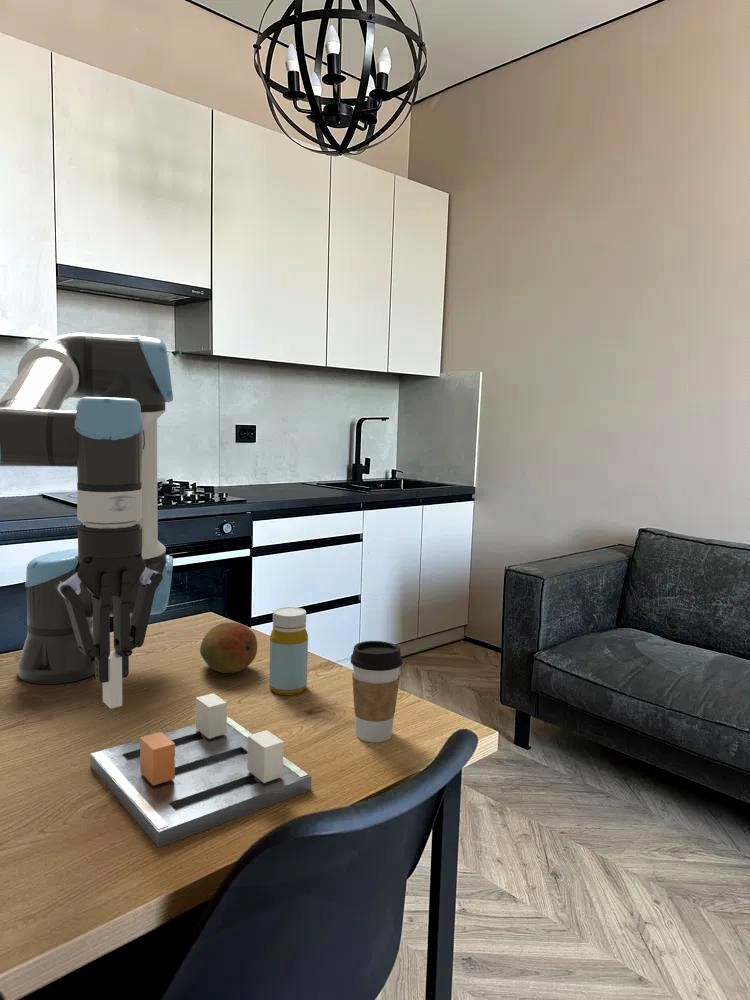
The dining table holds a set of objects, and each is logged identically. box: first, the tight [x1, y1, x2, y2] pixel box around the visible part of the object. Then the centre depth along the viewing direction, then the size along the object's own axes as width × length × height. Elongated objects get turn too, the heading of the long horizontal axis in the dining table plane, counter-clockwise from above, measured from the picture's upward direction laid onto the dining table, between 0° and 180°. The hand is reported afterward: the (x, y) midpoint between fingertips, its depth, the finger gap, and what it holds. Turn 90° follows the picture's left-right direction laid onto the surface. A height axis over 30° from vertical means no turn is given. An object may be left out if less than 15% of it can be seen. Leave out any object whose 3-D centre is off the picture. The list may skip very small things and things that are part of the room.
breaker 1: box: [195, 692, 228, 739], centre depth 110 cm, size 4×3×6 cm
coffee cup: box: [350, 640, 403, 743], centre depth 115 cm, size 8×8×15 cm
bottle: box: [268, 606, 309, 696], centre depth 133 cm, size 7×7×15 cm
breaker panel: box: [89, 715, 312, 848], centre depth 100 cm, size 24×22×2 cm
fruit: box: [199, 621, 258, 674], centre depth 141 cm, size 12×12×10 cm
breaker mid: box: [139, 731, 175, 786], centre depth 96 cm, size 4×3×6 cm
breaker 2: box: [247, 729, 285, 783], centre depth 98 cm, size 4×3×6 cm
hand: (112, 703), depth 91 cm, fingers closed
